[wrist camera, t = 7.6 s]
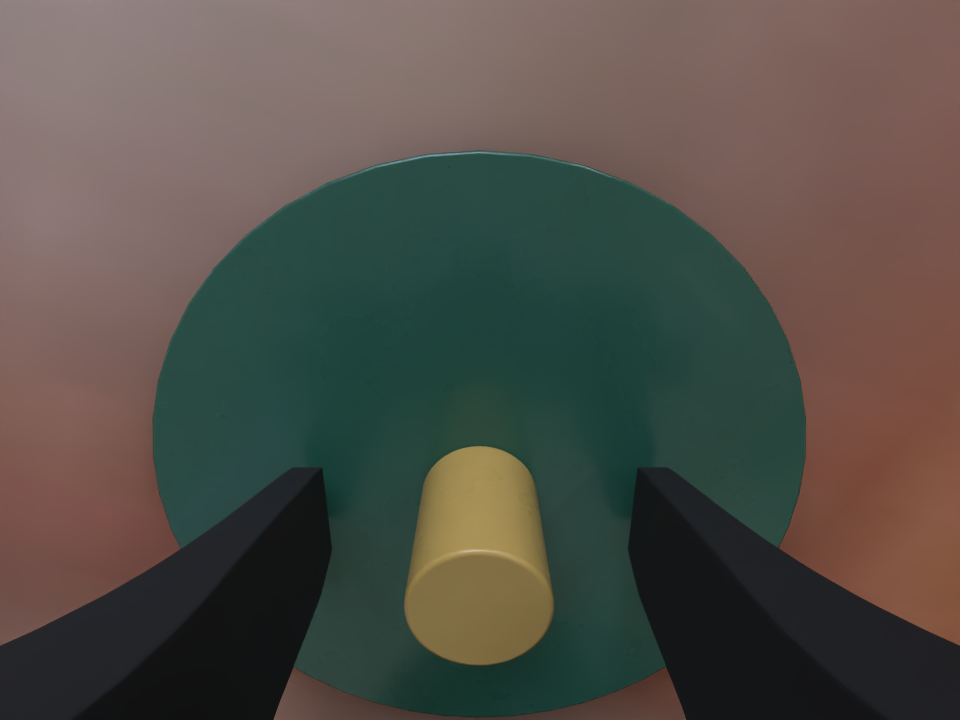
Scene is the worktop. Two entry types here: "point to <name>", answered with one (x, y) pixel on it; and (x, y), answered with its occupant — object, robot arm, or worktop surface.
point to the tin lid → (479, 416)
